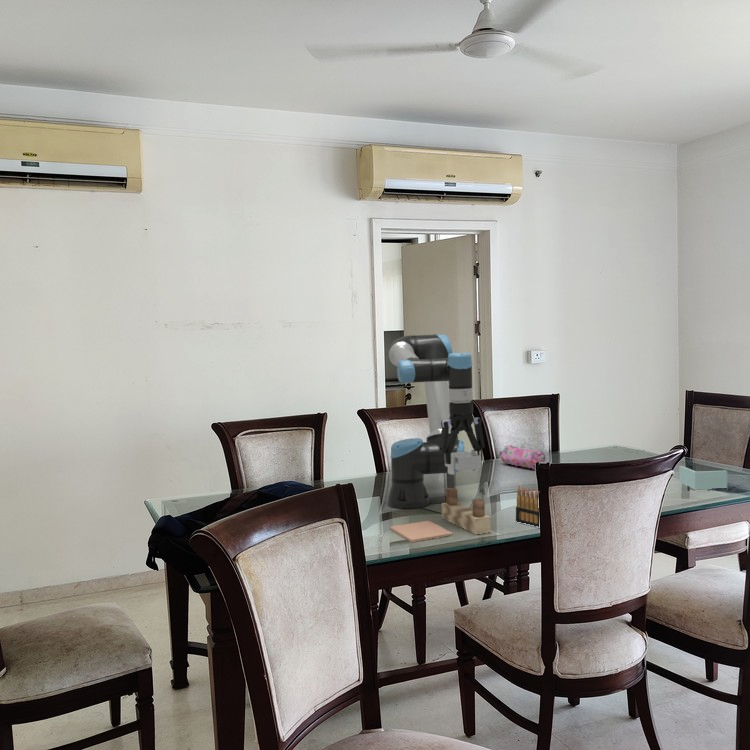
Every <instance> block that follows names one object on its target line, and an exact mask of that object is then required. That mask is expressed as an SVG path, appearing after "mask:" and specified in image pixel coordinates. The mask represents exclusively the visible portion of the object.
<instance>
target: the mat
mask: <svg viewBox="0 0 750 750" xmlns="http://www.w3.org/2000/svg"><path fill="white" fill-rule="evenodd" d="M389 530H390V531H392V532H393V533H395V534H396V535H398V536H400V537H402V538H403V539H405V540H406V539H407V541H408V542H410V543H417V541H418V542H423V541H422V540H424V541H428V540H427V539H430V540H433V539H432V538H436V539H438V538H437V537H442V538H444V537H443V536H448V535H453V536H454V533H453V532H452V531H450V530H448V529H446V528H444V527H442V526H440V525H438V524H436V523H435V522H432V521H431V520H424V521H418V522H417V521H416V522H411V523H406V524H397V525H391V526H389ZM448 537H449V536H448Z"/></svg>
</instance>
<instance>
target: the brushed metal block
mask: <svg viewBox="0 0 750 750" xmlns="http://www.w3.org/2000/svg"><path fill="white" fill-rule="evenodd" d="M451 454H454V469H455V470H458V471H459V472H460V471H467V470H472V469H477V468H478V469H482V456H481V455H478V454H474V453H471V451H468V450H464V451H463V452H455V453H451ZM445 466H447V467H448V464H446V462H445Z"/></svg>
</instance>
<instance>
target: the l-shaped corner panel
mask: <svg viewBox="0 0 750 750" xmlns="http://www.w3.org/2000/svg"><path fill="white" fill-rule="evenodd" d="M678 468H679V469H678V471H679V474H678V475H679V476H678V477H679V481H678V482H680V483H682V484H684V485H686V486H689V487H691V488H693V489H695V490H696V489H712V488H727V489H728V470H706V471H697V470H693V469H691V468H689V467H687V466H683V465H678Z"/></svg>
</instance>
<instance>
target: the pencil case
mask: <svg viewBox="0 0 750 750" xmlns="http://www.w3.org/2000/svg"><path fill="white" fill-rule="evenodd" d="M499 456H500V458H501V461H502V462H503V463H504V464H506V463H507V464H506V465H509V464H511V465H510V466H513V465H515V466H514V467H517V466H521V467H520V468H528V469H530V468H532V469H531V470H534V471H536V470H535V464H536V463H537V462H545V463H546V455H545V453H544V452H542V451H540V450H538V449H530V450H529V449H524V448H519V447H518V446H513V445H505V446H504V449H503V450H502V451H499Z"/></svg>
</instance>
